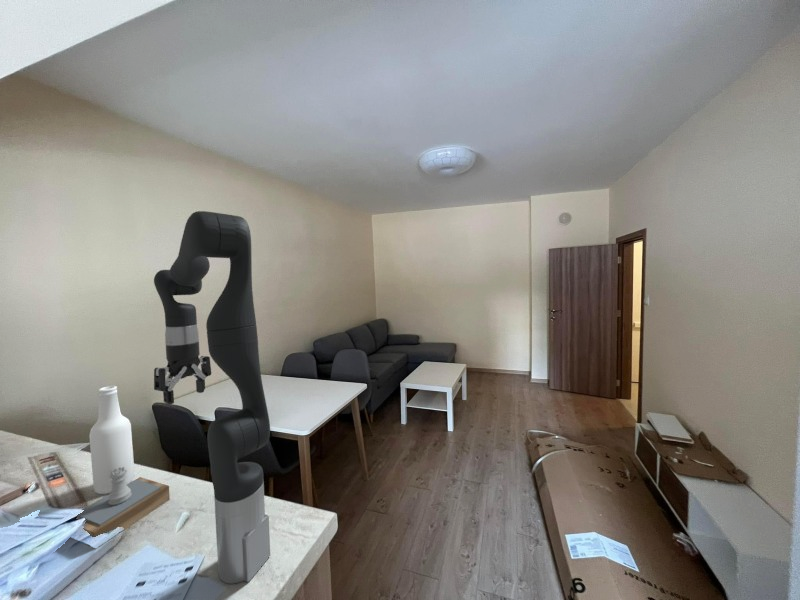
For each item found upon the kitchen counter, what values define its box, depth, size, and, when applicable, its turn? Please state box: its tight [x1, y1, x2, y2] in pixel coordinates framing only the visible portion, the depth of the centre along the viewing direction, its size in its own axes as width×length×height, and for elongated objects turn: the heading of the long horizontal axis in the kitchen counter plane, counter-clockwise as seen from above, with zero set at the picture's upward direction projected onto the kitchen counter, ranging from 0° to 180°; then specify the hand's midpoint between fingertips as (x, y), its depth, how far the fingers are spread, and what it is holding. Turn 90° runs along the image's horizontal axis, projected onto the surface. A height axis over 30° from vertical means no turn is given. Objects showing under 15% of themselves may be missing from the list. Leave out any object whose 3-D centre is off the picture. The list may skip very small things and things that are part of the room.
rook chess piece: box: [108, 467, 132, 505], centre depth 76 cm, size 4×4×8 cm
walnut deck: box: [76, 477, 171, 537], centre depth 76 cm, size 12×16×4 cm
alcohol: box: [88, 385, 136, 495], centre depth 87 cm, size 9×9×30 cm
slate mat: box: [77, 478, 161, 526], centre depth 76 cm, size 10×13×1 cm
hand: (185, 397), depth 83 cm, fingers open, 8 cm apart
